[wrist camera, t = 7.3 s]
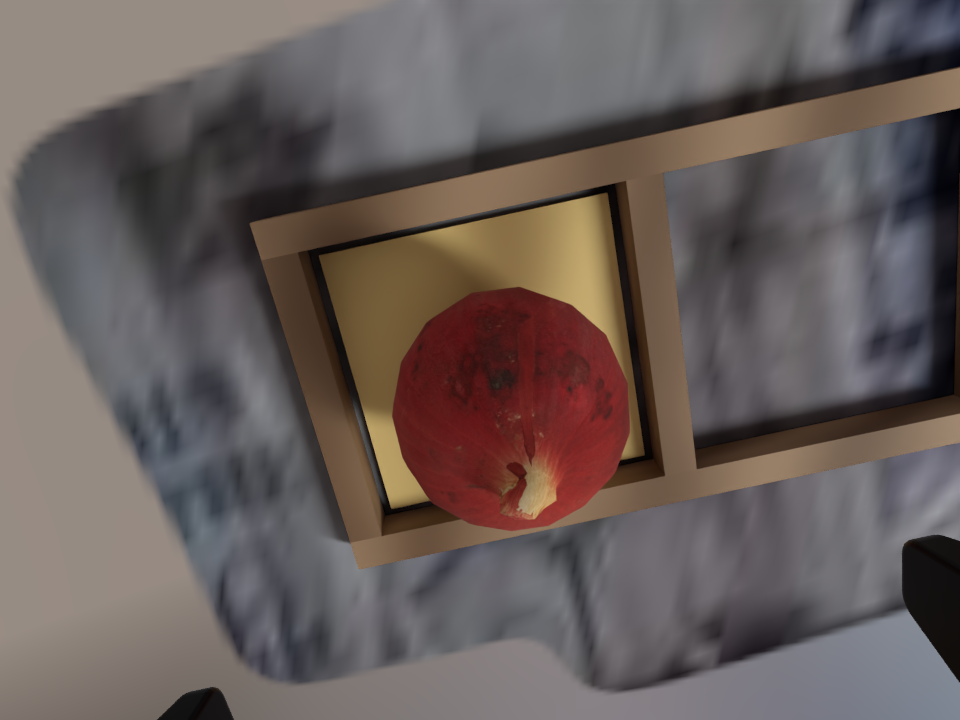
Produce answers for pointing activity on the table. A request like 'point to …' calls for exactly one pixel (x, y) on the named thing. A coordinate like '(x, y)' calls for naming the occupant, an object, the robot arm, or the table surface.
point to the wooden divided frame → (569, 278)
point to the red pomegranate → (511, 409)
